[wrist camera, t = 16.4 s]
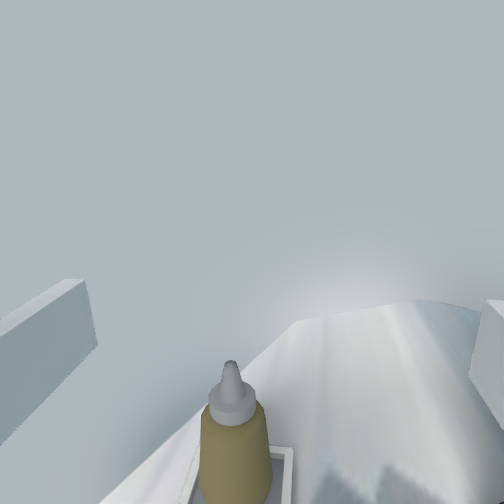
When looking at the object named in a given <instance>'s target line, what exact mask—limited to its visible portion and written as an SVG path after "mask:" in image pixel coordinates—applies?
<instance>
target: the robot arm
mask: <svg viewBox="0 0 504 504" xmlns="http://www.w3.org/2000/svg"><path fill="white" fill-rule="evenodd" d="M97 346H98V343H97V338H96V333H95V328H94V323H93V318H92V313H91V308H90V302H89V297H88V292H87V287H86V282H85V279H64V280H62V281H61V282H59V283H58V284H56V285H54V286H53V287H51V288H50V289H48V290H46V291H45V292H43V293H42V294H40V295H38V296H37V297H35V298H34V299H32V300H30V301H29V302H27V303H26V304H24V305H22V306H21V307H19V308H17V309H16V310H14V311H13V312H11V313H9V314H8V315H6V316H4V317H3V318H1V319H0V446H1V445H2V444H3V443H4V442H5V441H6V440H7V438H8V437H9V436H10V435H11V434H12V433H13V432H14V431H15V430H16V429H17V428H18V427H19V426H20V425H21V424H22V423H23V422H24V421H25V420H26V419H27V418H28V417H29V416H30V415H31V414H32V413H33V412H34V411H35V410H36V409H37V408H38V406H39V405H40V404H41V403H42V402H43V401H44V400H45V399H46V398H47V397H48V396H49V395H50V394H51V393H52V392H53V391H54V390H55V389H56V388H57V387H58V386H59V385H60V384H61V383H62V382H63V381H64V379H66V378H67V377H68V375H70V374H71V372H72V371H73V370H74V369H75V368H76V367H77V366H78V365H79V364H80V363H81V362H82V361H83V360H84V359H85V358H86V357H87V356H88V355H89V354H90V353H91V352H92V351H93V350H94V349H95V348H96V347H97ZM468 376H469V378H470V379H471V381H472V383H473V384H474V386H475V387H476V389H477V390H478V392H479V394H480V395H481V397H482V398H483V400H484V401H485V403H486V405H487V406H488V408H489V409H490V411H491V412H492V414H493V416H494V417H495V419H496V420H497V422H498V423H499V425H500V427H501V428H502V430H503V431H504V301H503V300H485V302H484V307H483V311H482V315H481V320H480V324H479V329H478V333H477V337H476V342H475V346H474V350H473V355H472V359H471V363H470V368H469V372H468ZM500 504H504V501H503V502H501V503H500Z"/></svg>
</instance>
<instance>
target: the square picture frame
mask: <svg viewBox="0 0 504 504" xmlns="http://www.w3.org/2000/svg"><path fill="white" fill-rule="evenodd" d="M269 449H270V457H271V464H272V472H273V480H272V484H271V489H270V492H269V494H268V496H267V498H266V500H265V502H264V504H291V492H292V472H293V448H289V447H280V446H272V445H269ZM199 463H200V442H199V445H198V448H197V451H196V454H195V457H194V459H193V462H192V465H191V468H190V471H189V474H188V477H187V479H186V482H185V485H184V488H183V491H182V494H181V497H180V499H179V502H178V504H207V502H206V501H205V500H204V497H203V495H202V493H201V490H200V488H199Z"/></svg>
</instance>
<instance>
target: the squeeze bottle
mask: <svg viewBox="0 0 504 504" xmlns="http://www.w3.org/2000/svg"><path fill="white" fill-rule="evenodd" d="M272 480H273V472H272V464H271V457H270V449H269V442H268V434H267V427H266V419H265V414H264V409H263V407H262V406H261V405H260V404H259V402H258V401H257V400H256V396H255V390H254V389H253V388H252V387H251V386H250V385H249V384H247V383H245V382H243V381H242V379H241V376H240V373H239V369H238V366H237V363H236V362H235V361H232V360H231V361H227V362H226V363H225V365H224V369H223V374H222V379H221V383H219V384H218V385H217V386H215V387H214V388H213V389H212V390H211V392H210V394H209V404H208V405H207V406H206V407H205V409H204V411H203V413H202V415H201V437H200V463H199V488H200V490H201V493H202V495H203V497H204V500H205V501H206V502H207V504H264V502H265V500H266V498H267V496H268V494H269V492H270V489H271V484H272Z"/></svg>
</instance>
